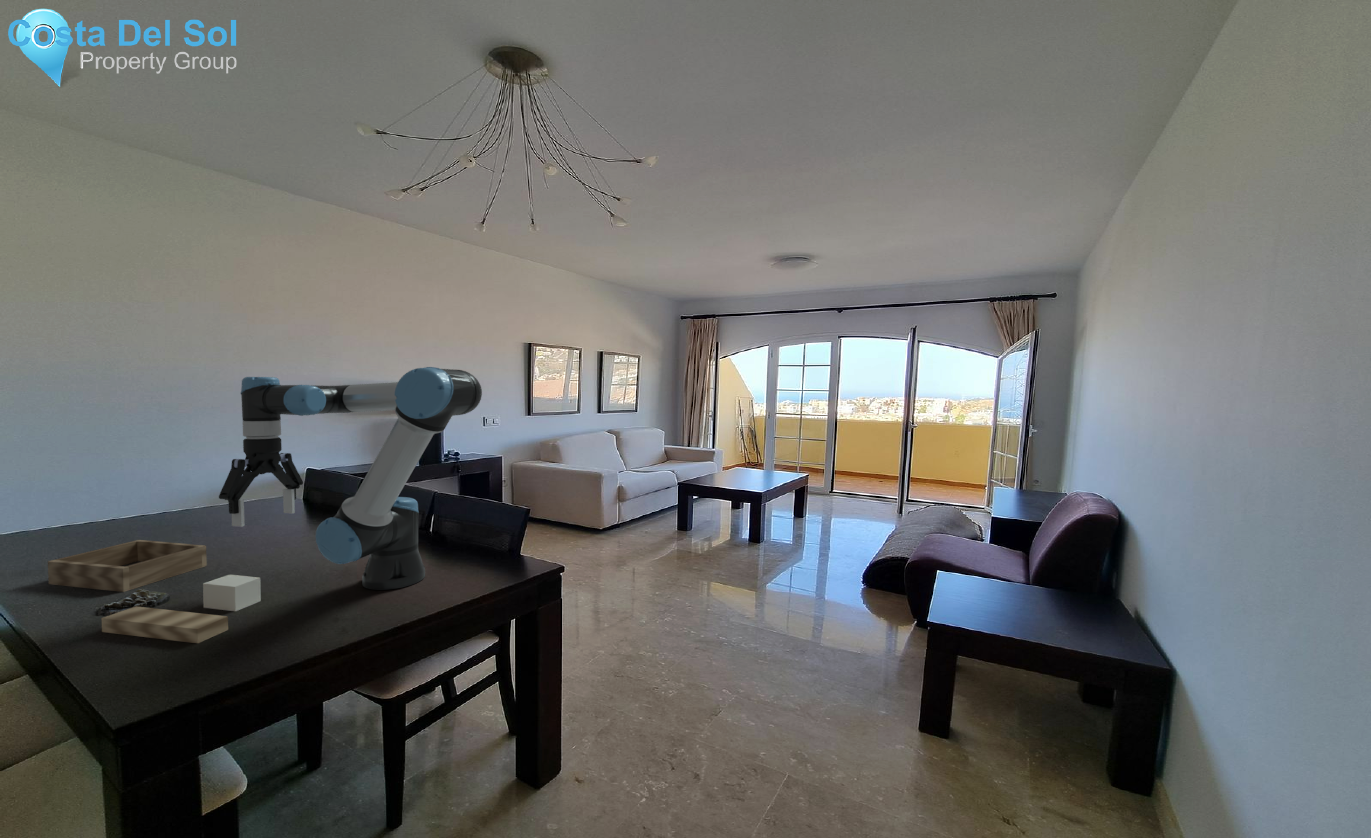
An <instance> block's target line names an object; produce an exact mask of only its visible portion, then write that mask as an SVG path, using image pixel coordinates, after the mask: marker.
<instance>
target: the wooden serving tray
mask: <svg viewBox="0 0 1371 838" xmlns="http://www.w3.org/2000/svg"><path fill="white" fill-rule="evenodd" d="M207 565H208V563H207V545H203V544H192V543H181V542H180V543H179V542H168V541H157V540H155V541H154V540H148V539H147V540H145V539H144V540H143V539H136V540H132V541H128V542H123V543H120V544H114V545H111V546H107V547H102V548H99V549H95V550H89V551H85V552H82V553H78V554H73V555H69V556H65V557H64V556H63V557H60V558H57V559H52V560H48V561H47V572H48V573H47V576H48V585H54V586H61V587H62V586H64V587H73V588H82V589H91V590H93V589H94V590H102V591H111V592H118V593H119V592H121V593H125V592H128V591H130V590H131V591H132V590H135V589H138V588H141V587H143V586H148V585H150V584H153V583H156V582H160V581H162V580H163V581H164V580H167V579H169V578H172V577H176V576H179V575H182V574H185V573H188V572H192V571H196V570H198V569H202V568H205V567H207Z"/></svg>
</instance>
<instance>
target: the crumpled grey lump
mask: <svg viewBox="0 0 1371 838" xmlns="http://www.w3.org/2000/svg"><path fill="white" fill-rule="evenodd" d="M169 601H171V595H170V594H169V593H166V592H162V591H153V590H152V591H149V590H146V589H144V588H141V589H136V590H135V592H133V593H131V594H127V595H124V596H122V597H119V598H116V599H115V600H114V601H110V602H108V603H103V604H102V606H100V607H99V608H98V610H97V616H104V617H106V616H109V615H112V614H115V613H118V612H121V611H124V610H127V609H130V608H133V607H135V606H137V607H146V608H156V607H157V608H158V607H159V606H161V605H163V604H166V603H168V602H169Z"/></svg>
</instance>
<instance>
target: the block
mask: <svg viewBox="0 0 1371 838" xmlns="http://www.w3.org/2000/svg"><path fill="white" fill-rule="evenodd" d="M261 589H262V588H261V577H258V576H257V577H255V576H249V575H248V576H247V575H237V574H227V575H223V576H221V577H218V578H215V579H212V580H210V581H206V582H203V583H202V591H203V593H202V595H203V597H202V599H203V609H213V610H221V611H222V610H223V611H231V612H238V611H239V610H242V609H245V608H247V607H250V606H252V605H255V604H257V603H259V602H262V601H261V598H262V595H261Z"/></svg>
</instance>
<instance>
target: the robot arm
mask: <svg viewBox="0 0 1371 838" xmlns="http://www.w3.org/2000/svg"><path fill="white" fill-rule="evenodd" d="M482 389H483V388H482V385H481V383H480V381H479V380H478V379H477V378H476V376H474V375H473V374H471V373H470V372H469V371H466V370H462V369H454V368H453V369H449V368H439V367H434V366H424V367H417V368H413V369H411V370H408V372H406V373H404V374H403V375H402V376H401V377H400V379H399V380H398V381H397V382H396V381H395V382H380V383H378V382H377V383H364V384H363V383H362V384H344V385H341V384H340V385H313V384H311V385H310V384H285V385H283V384H280V379H279V378H277V377H273V376H246V377H243V378H242V379H241V389H240V390H241V391H240V395H241V414H242V415H241V417H242V436H243V437H245V438H244V439H243V440H242V444H243V445H242V448H243V453H244V454H245V458H233V459H232V460H231V467H230V470H229V472H228V473H227V474H228V475H227V477H226V479H225V481H224V482H223V483H224V484H223V486H222V488H221V490H220V492H219V495H218V499H220V500H224V501H228V502H227V503H228V513H229V514H231V526H232V527H236V528H237V527H239V528H240V527H241V528H242V527H245V500H244V499H242V496H243V495H244V494H245V493H246V491H247V490H248V488H249V487H250V485H251V484H252V482H253V481H254V480H255V479H256V478H257V477H258V476H259V475H265V474H272V475H273V476H274V477H275V478H276V479H277V480H278V481H279V482H280V483H281V484H282V485H283V486H284V487H285V488H283V489H282V501H283V503H282V504H283V505H282V506H283V514H290V515H291V514H295V513H296V507H295V505H296V503H295V501H296V499H297V489H299V488H301V486H302V485H303V484H304V481H303V478H302V477H301V475H300V473H299V471H298V469H297V467H296V466H295V463H294V461H293V457H292V453H290V452H281V451H282V450H283V448H282V447H283V446H282V438H281V437H280V436H281V435H282V424H281V423H282V422H281V420H282V419H281V415H290V416H291V415H292V416H301V417H302V416H314V415H318V414H319V415H320V414H321V415H322V414H349V413H361V412H364V413H365V412H382V411H383V412H384V411H385V412H386V411H394V412H395V414H396V417H397V419H396V421H395V423H394V425H393V426H392V429H391V431H390V432H389V433H388V436H387V437H386V439H385V441H384V443H383V444H382V446H381V447H380V449H379V452H378V453H377V455H376V457H375V459H374V461H373V462H372V464H371V466H370V468H369V470H368V471H367V473H366V475H365V477H364V479H363V480H362V483H360V485H359V488H358V489H357V491H356V493H355V495H353V496H350V497H348V498H346V499H345V500H343V502H342V503H341V505H340V506H339V508H338V510H337V513H336V514H335V515H334V516H333V517H327V518H326V519H325V520H322V522H320V523H319V525H317V528H316V530H315V543H316V545H317V549H318V551H319V552H320V553H321V555H322V556H323V557H324V558H325V559H326V560H328V561H329V562H331V563H333V564H336V565H345V564H348V563H353V562H354V563H355V562H356V561H358V560H360V559H363V558H365V557H367V556H369V557H368V560H367V562H366V565H365V568H364V571H363V574H362V578H361V579H362V580H361V581H362V583H361V585H362V587H364V588H365V589H369V590H376V591H384V590H385V591H386V590H388V591H389V590H394V589H401V588H405V587H409V586H412V585H415V584H417V583H419V582H421V581H422V580H424V579H425V577H426V567H425V565H424V563H423V559H422V556H421V554H420V552H419V513H420V512H419V503H418V501H417V500H416V499H415V498H413V497H406V496H399V495H400V494H401V492H402V491H403V489H404V487H405V486H406V483H407V482H408V480H409V479H410V476H411V475H412V473H413V471H414V469H415V468H416V466H417V464H418V463H419V461H420V459H421V458H422V455H423V454H424V452H425V450H426V449H427V447H428V446H429V443H430V442H431V440H432V438H433V436H435V434H439V433H443V431H445V429H446V427H447V426H448V424H449V422H450V421H451V419H452V417H453V416H463V415H466V414H468V413H471V412H473V410H475V409H476V408H477V407H478V406H479V405H480V402H481V400H482V398H483V397H482V395H483V390H482Z"/></svg>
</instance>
